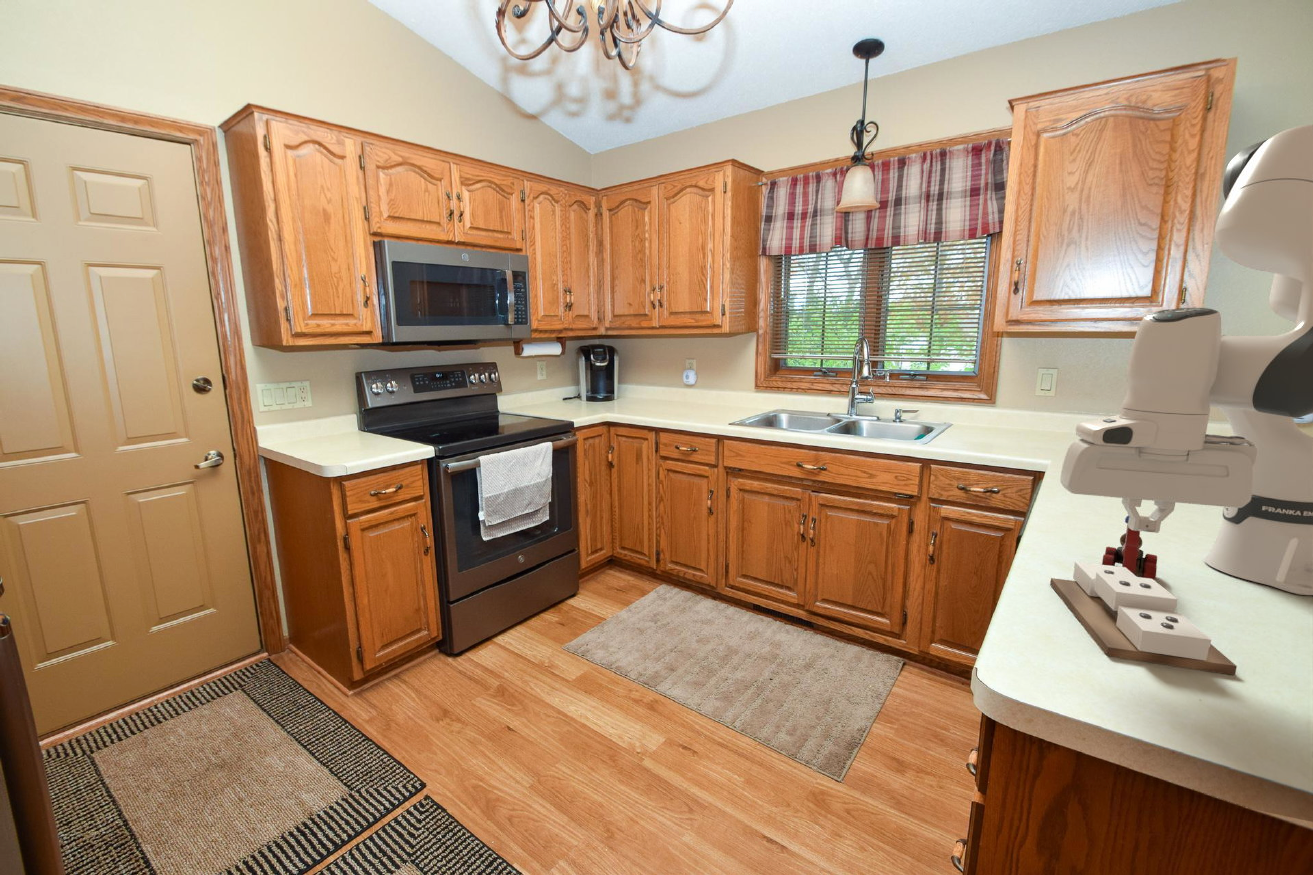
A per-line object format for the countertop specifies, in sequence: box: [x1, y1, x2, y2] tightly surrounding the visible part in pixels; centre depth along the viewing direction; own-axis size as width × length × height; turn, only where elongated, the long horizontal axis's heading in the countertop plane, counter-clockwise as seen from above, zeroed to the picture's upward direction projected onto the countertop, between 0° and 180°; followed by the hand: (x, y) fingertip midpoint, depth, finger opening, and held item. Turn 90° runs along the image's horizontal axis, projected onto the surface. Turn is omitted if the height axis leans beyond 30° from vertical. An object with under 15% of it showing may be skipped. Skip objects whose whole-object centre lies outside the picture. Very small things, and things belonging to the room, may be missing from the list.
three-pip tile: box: [1116, 606, 1212, 661], centre depth 73 cm, size 7×7×3 cm
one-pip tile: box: [1072, 561, 1137, 597], centre depth 88 cm, size 7×7×3 cm
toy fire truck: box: [1101, 514, 1158, 581], centre depth 95 cm, size 7×12×10 cm, turn 139°
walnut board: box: [1049, 577, 1238, 676], centre depth 80 cm, size 13×22×3 cm, turn 161°
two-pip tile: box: [1094, 572, 1178, 613], centre depth 80 cm, size 7×7×3 cm
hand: (1142, 530), depth 78 cm, fingers closed
